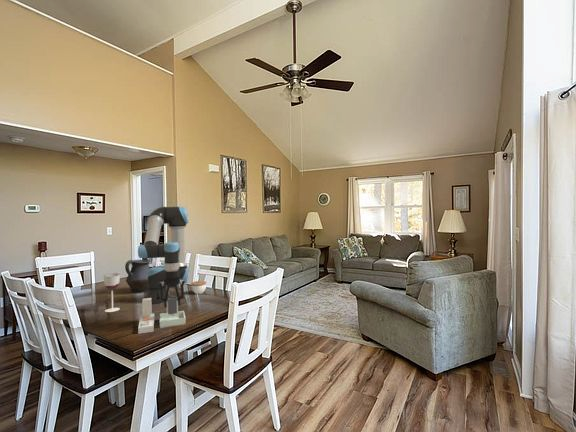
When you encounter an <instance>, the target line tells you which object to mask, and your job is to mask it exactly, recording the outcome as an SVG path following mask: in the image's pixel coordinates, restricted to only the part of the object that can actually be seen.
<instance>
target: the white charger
mask: <svg viewBox="0 0 576 432" xmlns="http://www.w3.org/2000/svg"><path fill="white" fill-rule="evenodd" d="M145 298H146V297H145ZM145 298H142V302H141V303H142V315H143V316H145V315H151V314H153V313H152V307H153V306H152V304H153V303H151V298H146V299H145Z"/></svg>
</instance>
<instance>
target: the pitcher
mask: <svg viewBox="0 0 576 432" xmlns="http://www.w3.org/2000/svg"><path fill="white" fill-rule="evenodd" d="M149 264H150V259H129V260H127V261H126V263H125V264H124V265H125V268H124V269H125V272H126V274H127V277H126V279H125V281H126V283H127V285H128V287H130V289H131V290H132V292H134V293H138V294H139V293H144V292H148V270H149V269H150V268H151V267H150V265H149ZM130 266H131V268H130Z"/></svg>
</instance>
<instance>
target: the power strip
mask: <svg viewBox="0 0 576 432" xmlns="http://www.w3.org/2000/svg"><path fill="white" fill-rule="evenodd" d="M138 322H139V323H138V328H137V329H138V332H137V334H139V335H140V334H145V333H146V334H147V333H152V332H154V329H155V313H151V315H145V316H143V314H141V315H140V316H139V321H138Z"/></svg>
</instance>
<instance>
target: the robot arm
mask: <svg viewBox="0 0 576 432" xmlns="http://www.w3.org/2000/svg"><path fill="white" fill-rule="evenodd" d="M165 224H166V225H167V224H168V228H170V240H171V241H169V242H168V241H167V242H165V243H164V244H159V240H160V235H161V234H160V233H161V227H162V226H163V225H165ZM188 224H189V217H188V210H187V208H186V206H185V207H184V206H160V207H158V208H155V209H154V210H153V211H152V212H151V213H150V214H149V216H148V218H147V229H146V233H145V239H144V243H143V244H142V245H139V246H138V247H137V256H138V258H139V259H156V258H157V259H159V258H160V259H161V258H164V263H163V264H164V265H156V266H152V267H150V269H149V270H148V291H146V292H147V293H146V296H145V298H144V299H146V298H151V303H152V304H159V303H164V305H163V306H164V308H166V313H168V297H170V295H169V292H170V288H174V290H175V293H176V298H177V312H178V311H179V306H181V300H182V299H184V296H185V295H184V294H185V293H184V286H185V284H187V283H188V279H189V277H188V276H189V271H190V267H189V266H187V265H188V264H187V262H185V228H186V227H187V225H188ZM178 285H180V293H179V289H178Z"/></svg>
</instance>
